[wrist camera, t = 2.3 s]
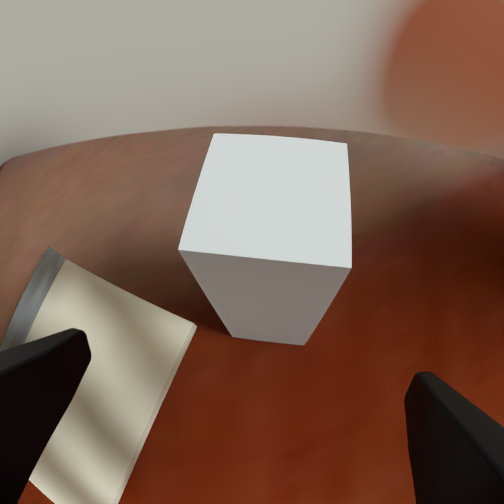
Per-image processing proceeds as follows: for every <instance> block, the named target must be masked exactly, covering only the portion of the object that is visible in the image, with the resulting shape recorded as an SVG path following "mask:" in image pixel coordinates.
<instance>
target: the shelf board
mask: <svg viewBox="0 0 504 504" xmlns="http://www.w3.org/2000/svg"><path fill="white" fill-rule="evenodd" d="M70 328H76V329H80V330H83V331H84V332H85V333H86V335H87V339H88V343H89V346H90V350H91V355H92V357H91V361H90V364H89V366H88V368H87V370H86V372H85V374H84V376H83V378H82V380H81V382H80V384H79V387H78V389H77V391H76V393H75V395H74V397H73V399H72V401H71V403H70V405H69V407H68V408H67V410H66V412H65V413H64V415H63V417H62V419H61V420H60V422H59V424H58V426H57V427H56V429H55V431H54V433H53V435H52V436H51V438H50V440H49V442H48V444H47V445H46V447H45V449H44V451H43V453H42V455H41V457H40V459H39V460H38V462H37V464H36V466H35V468H34V470H33V472H32V474H31V476H30V478H29V480H30V481H31V482H32V483H33V484H34V485H35V486H36V487H37V488H38V489H39V490H40V491H41V492H42V493H44V494H45V495H46V496H47V497H48V498H49V499H50V500H51V501H53V502H54V503H55V504H118V502H119V500H120V498H121V495H122V493H123V491H124V488H125V486H126V484H127V481H128V479H129V477H130V475H131V472H132V470H133V468H134V465H135V463H136V461H137V458H138V456H139V454H140V452H141V449H142V447H143V445H144V443H145V440H146V438H147V436H148V433H149V431H150V429H151V427H152V424H153V422H154V420H155V418H156V416H157V413H158V411H159V409H160V407H161V404H162V402H163V400H164V398H165V396H166V393H167V391H168V389H169V387H170V385H171V382H172V380H173V378H174V376H175V374H176V371H177V369H178V367H179V365H180V363H181V361H182V358H183V356H184V354H185V352H186V350H187V348H188V345H189V343H190V341H191V339H192V337H193V335H194V332H195V330H196V328H197V326H196V325H195V324H194V323H192V322H190V321H188V320H186V319H183V318H181V317H179V316H177V315H175V314H172V313H170V312H168V311H166V310H164V309H162V308H159V307H157V306H155V305H153V304H151V303H149V302H147V301H145V300H143V299H141V298H139V297H137V296H135V295H133V294H131V293H129V292H127V291H125V290H123V289H121V288H119V287H117V286H115V285H113V284H111V283H109V282H107V281H105V280H103V279H101V278H100V277H98V276H96V275H94V274H92V273H90V272H88V271H87V270H85V269H83V268H81V267H79V266H78V265H76V264H74V263H72V262H70V261H69V260H67V259H65V258H64V257H63V256H62V255H61V254H59V253H58V252H57V251H56V250H54V249H53V248H51V247H48V249H47V250H46V252H45V254H44V256H43V257H42V259H41V261H40V263H39V265H38V266H37V268H36V270H35V272H34V274H33V276H32V278H31V280H30V282H29V283H28V285H27V287H26V289H25V291H24V293H23V296H22V298H21V300H20V302H19V304H18V306H17V308H16V310H15V313H14V315H13V317H12V319H11V322H10V324H9V326H8V329H7V331H6V334H5V336H4V339H3V341H2V344H1V346H0V351H3V350H6V349H10V348H13V347H16V346H19V345H22V344H25V343H28V342H31V341H34V340H37V339H40V338H43V337H46V336H49V335H52V334H55V333H58V332H61V331H64V330H67V329H70Z"/></svg>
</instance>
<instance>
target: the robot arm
mask: <svg viewBox="0 0 504 504" xmlns="http://www.w3.org/2000/svg"><path fill="white" fill-rule="evenodd" d="M91 357H92V355H91V350H90V346H89V343H88V339H87V335H86V333H85V332H84V331H83V330H80V329H76V328H70V329H67V330H64V331H61V332H58V333H55V334H52V335H49V336H46V337H43V338H40V339H37V340H34V341H31V342H28V343H25V344H22V345H19V346H16V347H13V348H10V349H6V350H3V351H0V504H17V503H18V500H19V499H20V497H21V494H22V492H23V490H24V488H25V486H26V484H27V482H28V480H29V478H30V476H31V474H32V472H33V470H34V468H35V466H36V464H37V462H38V460H39V459H40V457H41V455H42V453H43V451H44V449H45V447H46V445H47V444H48V442H49V440H50V438H51V436H52V435H53V433H54V431H55V429H56V427H57V426H58V424H59V422H60V420H61V419H62V417H63V415H64V413H65V412H66V410H67V408H68V407H69V405H70V403H71V401H72V399H73V397H74V395H75V393H76V391H77V389H78V387H79V384H80V382H81V380H82V378H83V376H84V374H85V372H86V370H87V368H88V366H89V364H90V361H91ZM404 403H405V414H406V425H407V438H408V450H409V457H410V463H411V469H412V476H413V482H414V490H415V497H416V504H504V427H502V426H501V425H500V424H498V423H497V422H496V421H495V420H493V419H492V418H491V417H489V416H488V415H487V414H485V413H484V412H483V411H482V410H480V409H479V408H478V407H476V406H475V405H474V404H472V403H471V402H470V401H469V400H467V399H466V398H465V397H463V396H462V395H461V394H459V393H458V392H457V391H455V390H454V389H453V388H452V387H450V386H449V385H448V384H446V383H445V382H444V381H442V380H441V379H440V378H438V377H437V376H436V375H434V374H433V373H432V372H418V373H416V374H415V375H414V377H413V380H412V382H411V384H410V386H409V388H408V391H407V393H406V395H405V401H404Z"/></svg>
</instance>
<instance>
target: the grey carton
mask: <svg viewBox="0 0 504 504" xmlns="http://www.w3.org/2000/svg"><path fill="white" fill-rule="evenodd" d="M178 251H179V252H180V254H181V256H182V257H183V259H184V261H185V262H186V264H187V266H188V267H189V269H190V271H191V272H192V274H193V276H194V277H195V279H196V280H197V282H198V284H199V285H200V287H201V289H202V290H203V292H204V293H205V295H206V297H207V298H208V300H209V301H210V303H211V305H212V306H213V308H214V309H215V311H216V312H217V314H218V315H219V317H220V319H221V320H222V322H223V323H224V325H225V326H226V328H227V329H228V331H229V332H230V334H231V335H232V337H237V338H244V339H251V340H259V341H267V342H276V343H285V344H294V345H305V344H306V342H307V341H308V339H309V337H310V336H311V334H312V333H313V331H314V330H315V328H316V327H317V325H318V323H319V322H320V320H321V319H322V317H323V315H324V314H325V312H326V311H327V309H328V307H329V306H330V304H331V302H332V301H333V299H334V297H335V296H336V294H337V292H338V291H339V289H340V287H341V286H342V284H343V282H344V280H345V279H346V277H347V275H348V273H349V272H350V270H351V268H352V235H351V201H350V181H349V165H348V152H347V144H346V143H338V142H330V141H322V140H313V139H303V138H292V137H280V136H265V135H246V134H214V135H213V138H212V141H211V144H210V147H209V150H208V153H207V156H206V159H205V162H204V165H203V168H202V171H201V174H200V177H199V180H198V183H197V187H196V190H195V193H194V196H193V200H192V203H191V206H190V209H189V213H188V216H187V220H186V223H185V227H184V230H183V234H182V237H181V241H180V244H179V248H178Z"/></svg>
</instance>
